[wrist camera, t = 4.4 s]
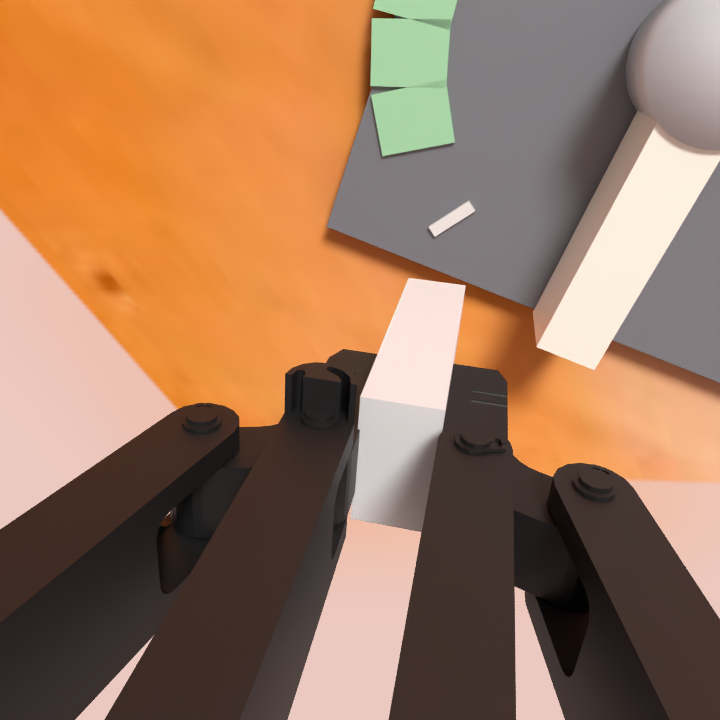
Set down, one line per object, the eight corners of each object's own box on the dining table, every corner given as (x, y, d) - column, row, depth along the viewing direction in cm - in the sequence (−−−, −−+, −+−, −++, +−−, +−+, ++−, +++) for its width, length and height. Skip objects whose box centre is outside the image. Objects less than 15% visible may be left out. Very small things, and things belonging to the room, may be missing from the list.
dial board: (310, 212, 30) (303, 219, 29) (523, -482, 20) (524, -511, 19) (782, 400, 30) (793, 413, 29) (1257, -205, 19) (1301, -219, 18)
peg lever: (822, -347, 19) (895, -435, 15) (987, -285, 19) (1098, -359, 15) (505, 300, 29) (505, 336, 26) (611, 342, 29) (626, 384, 25)
